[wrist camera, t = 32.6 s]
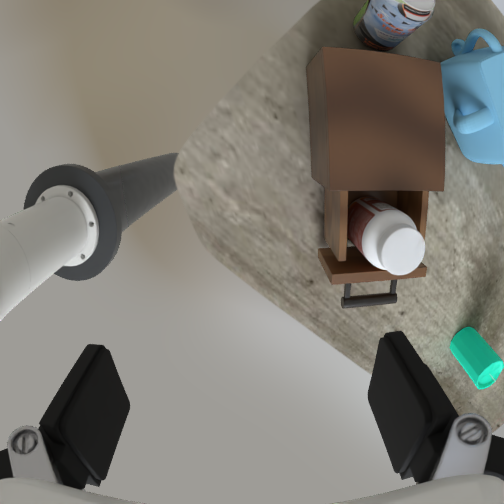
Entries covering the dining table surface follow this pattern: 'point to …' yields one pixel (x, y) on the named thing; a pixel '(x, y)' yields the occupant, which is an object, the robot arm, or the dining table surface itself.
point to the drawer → (350, 258)
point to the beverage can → (390, 21)
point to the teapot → (476, 97)
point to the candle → (476, 357)
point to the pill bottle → (385, 235)
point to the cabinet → (376, 121)
